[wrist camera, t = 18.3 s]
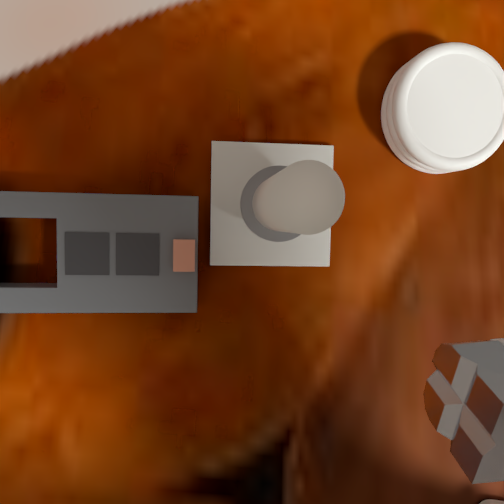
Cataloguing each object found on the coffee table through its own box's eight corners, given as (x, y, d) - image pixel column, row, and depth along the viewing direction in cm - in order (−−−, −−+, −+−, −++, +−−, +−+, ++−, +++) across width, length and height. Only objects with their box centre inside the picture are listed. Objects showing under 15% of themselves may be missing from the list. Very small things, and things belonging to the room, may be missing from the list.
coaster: (381, 51, 38) (399, 34, 35) (492, 59, 39) (521, 44, 36) (375, 171, 39) (392, 167, 35) (484, 176, 40) (511, 173, 36)
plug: (306, 172, 37) (361, 147, 25) (303, 240, 38) (356, 251, 25) (238, 169, 37) (258, 141, 24) (235, 238, 37) (255, 248, 24)
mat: (331, 146, 38) (333, 145, 37) (327, 265, 39) (329, 266, 38) (211, 141, 37) (211, 140, 36) (209, 264, 38) (209, 265, 37)
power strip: (198, 197, 37) (198, 195, 34) (197, 306, 38) (196, 314, 35) (-36, 191, 35) (-61, 188, 32) (-33, 306, 36) (-57, 315, 33)
